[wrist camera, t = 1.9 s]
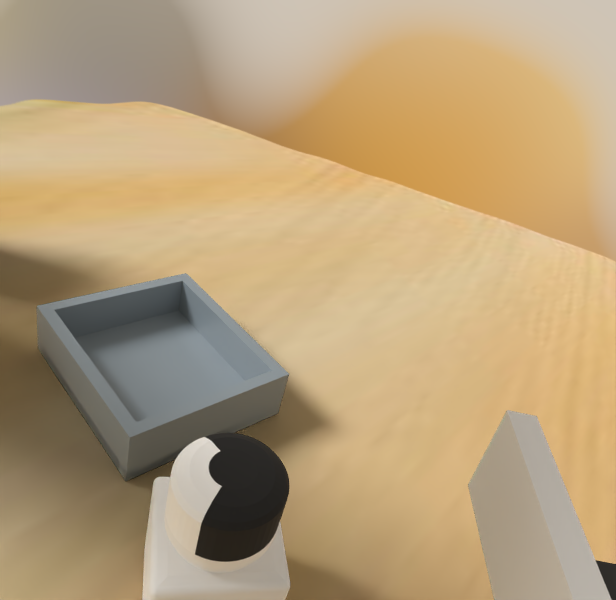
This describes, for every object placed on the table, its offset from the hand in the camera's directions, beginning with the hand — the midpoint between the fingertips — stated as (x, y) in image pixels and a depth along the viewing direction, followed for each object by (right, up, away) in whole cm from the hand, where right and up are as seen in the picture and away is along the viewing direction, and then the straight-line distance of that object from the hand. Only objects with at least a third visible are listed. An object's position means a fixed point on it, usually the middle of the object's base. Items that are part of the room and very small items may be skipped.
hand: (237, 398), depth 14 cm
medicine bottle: (-5, -16, +21) cm, 27 cm away
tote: (-11, -4, +36) cm, 38 cm away
